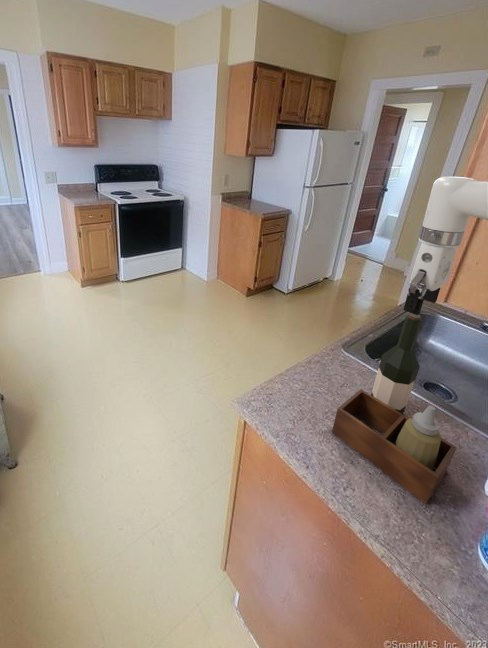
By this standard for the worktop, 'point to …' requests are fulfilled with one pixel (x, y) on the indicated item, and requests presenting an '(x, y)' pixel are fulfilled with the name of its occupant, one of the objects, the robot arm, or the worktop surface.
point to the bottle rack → (388, 444)
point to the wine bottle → (399, 368)
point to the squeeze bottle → (421, 437)
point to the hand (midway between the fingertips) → (419, 306)
